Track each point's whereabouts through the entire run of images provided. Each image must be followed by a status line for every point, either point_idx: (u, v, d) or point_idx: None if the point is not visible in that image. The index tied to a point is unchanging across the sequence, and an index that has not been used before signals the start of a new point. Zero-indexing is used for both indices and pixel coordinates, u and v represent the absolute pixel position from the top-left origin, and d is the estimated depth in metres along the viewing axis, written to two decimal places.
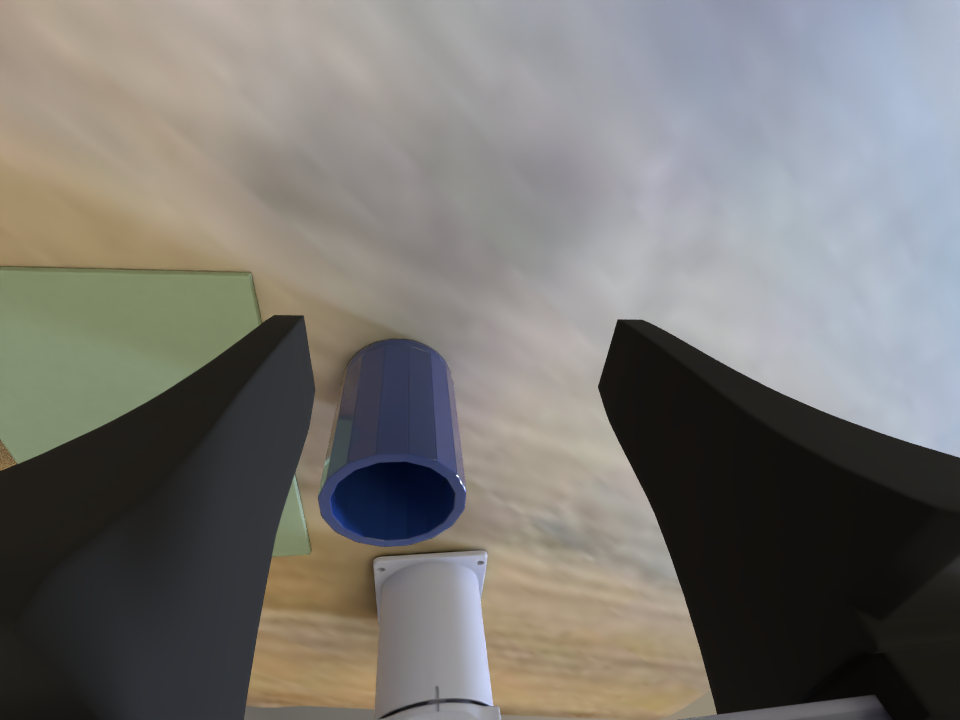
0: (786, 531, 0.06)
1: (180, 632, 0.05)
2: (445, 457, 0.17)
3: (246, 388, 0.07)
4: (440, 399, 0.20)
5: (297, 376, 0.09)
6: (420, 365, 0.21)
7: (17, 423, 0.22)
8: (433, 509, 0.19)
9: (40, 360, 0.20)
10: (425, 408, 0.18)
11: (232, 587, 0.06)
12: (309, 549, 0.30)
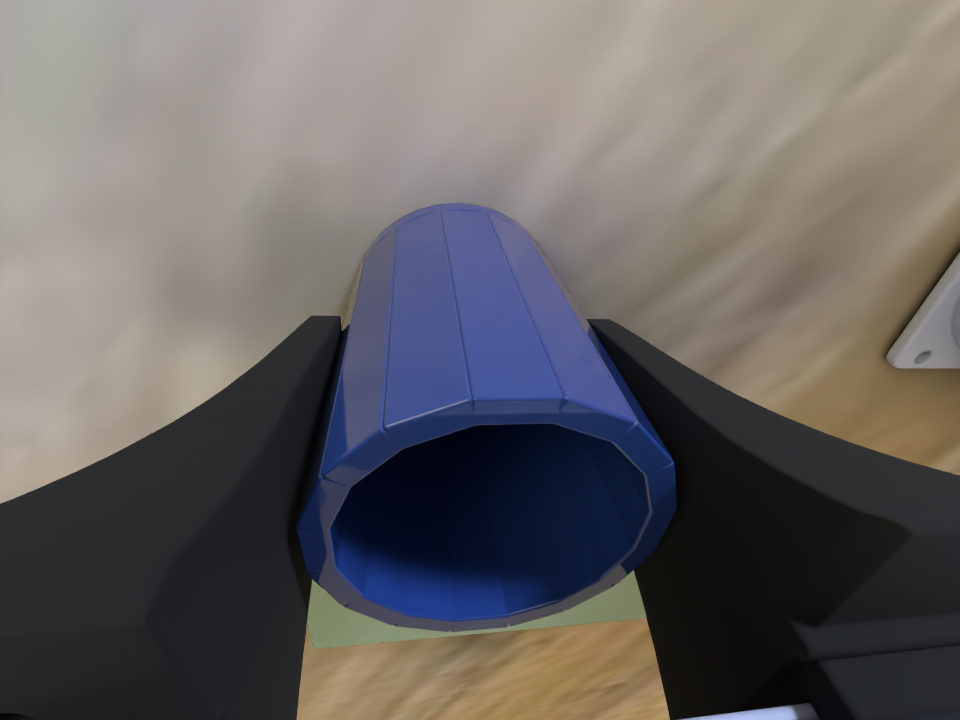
0: (730, 535, 0.06)
1: (254, 626, 0.05)
2: (351, 426, 0.06)
3: (299, 387, 0.07)
4: (369, 303, 0.08)
5: None
6: (352, 298, 0.10)
7: None
8: None
9: None
10: (337, 368, 0.08)
11: (289, 583, 0.06)
12: None
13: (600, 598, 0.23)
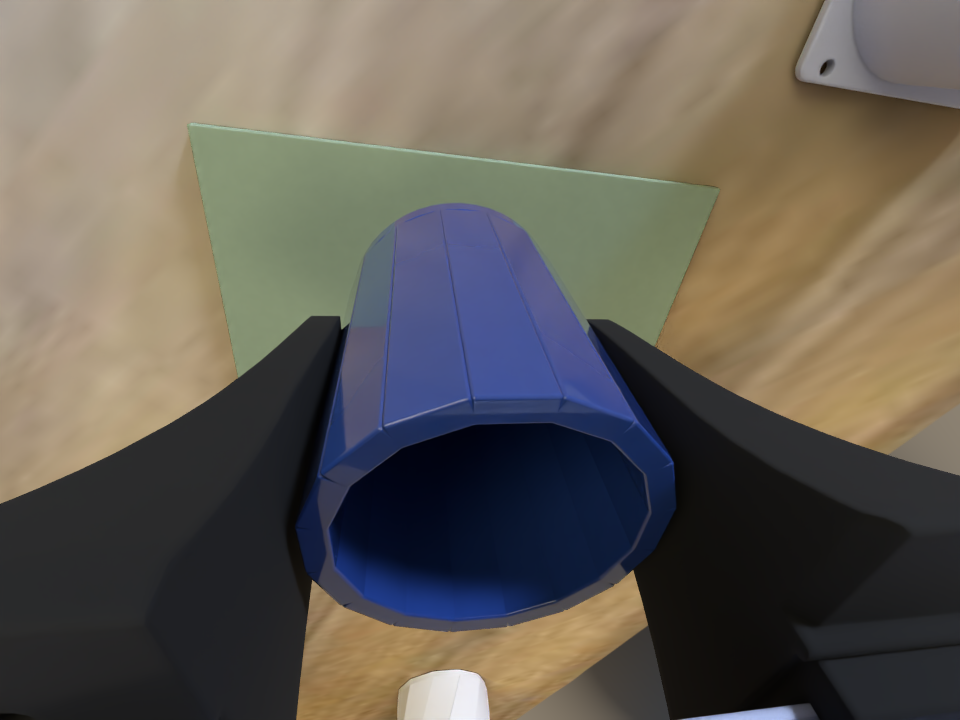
0: (730, 535, 0.06)
1: (254, 626, 0.05)
2: (350, 426, 0.06)
3: (298, 387, 0.07)
4: (368, 302, 0.08)
5: None
6: (351, 298, 0.10)
7: None
8: None
9: None
10: (336, 367, 0.08)
11: (289, 583, 0.06)
12: (709, 187, 0.19)
13: None
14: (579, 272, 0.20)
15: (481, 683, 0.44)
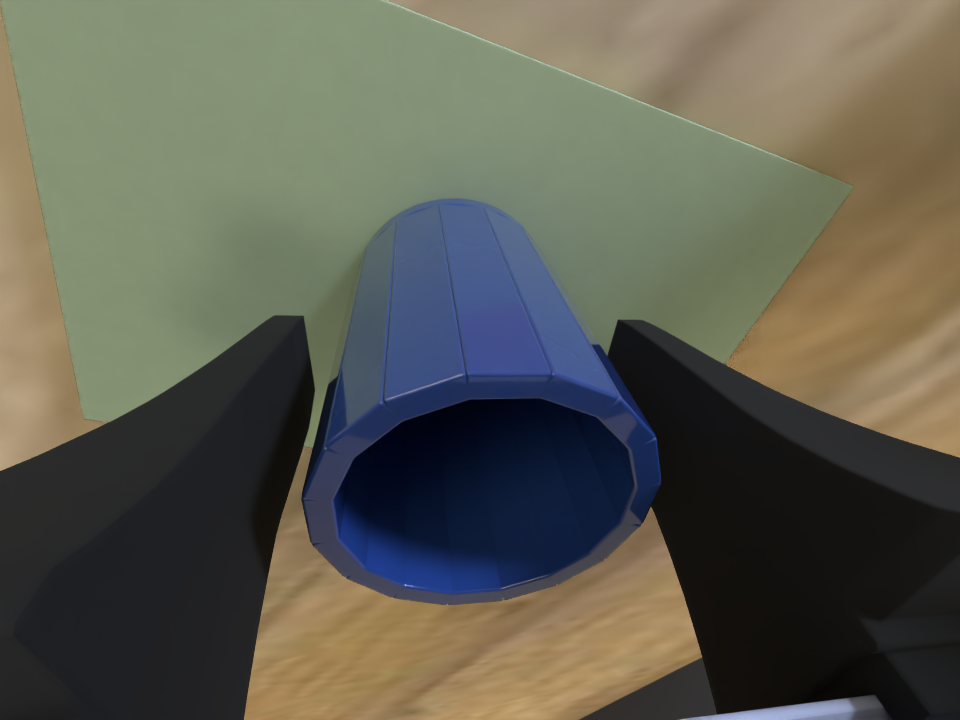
0: (786, 531, 0.06)
1: (180, 632, 0.05)
2: (353, 402, 0.06)
3: (246, 388, 0.07)
4: (369, 291, 0.09)
5: (297, 376, 0.09)
6: (353, 289, 0.11)
7: None
8: None
9: None
10: (339, 353, 0.08)
11: (232, 587, 0.06)
12: (840, 181, 0.13)
13: None
14: (632, 275, 0.14)
15: None
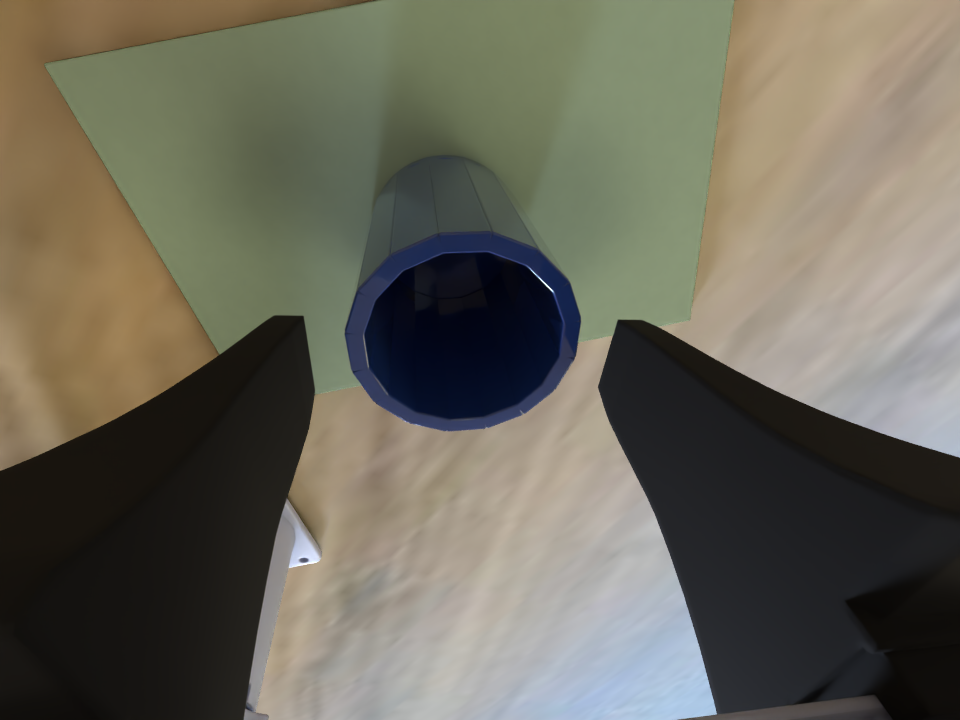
0: (786, 531, 0.06)
1: (180, 632, 0.05)
2: None
3: (246, 388, 0.07)
4: None
5: (297, 376, 0.09)
6: None
7: (477, 34, 0.13)
8: (429, 392, 0.13)
9: (597, 104, 0.15)
10: None
11: (232, 587, 0.06)
12: None
13: (285, 125, 0.14)
14: (330, 306, 0.18)
15: None
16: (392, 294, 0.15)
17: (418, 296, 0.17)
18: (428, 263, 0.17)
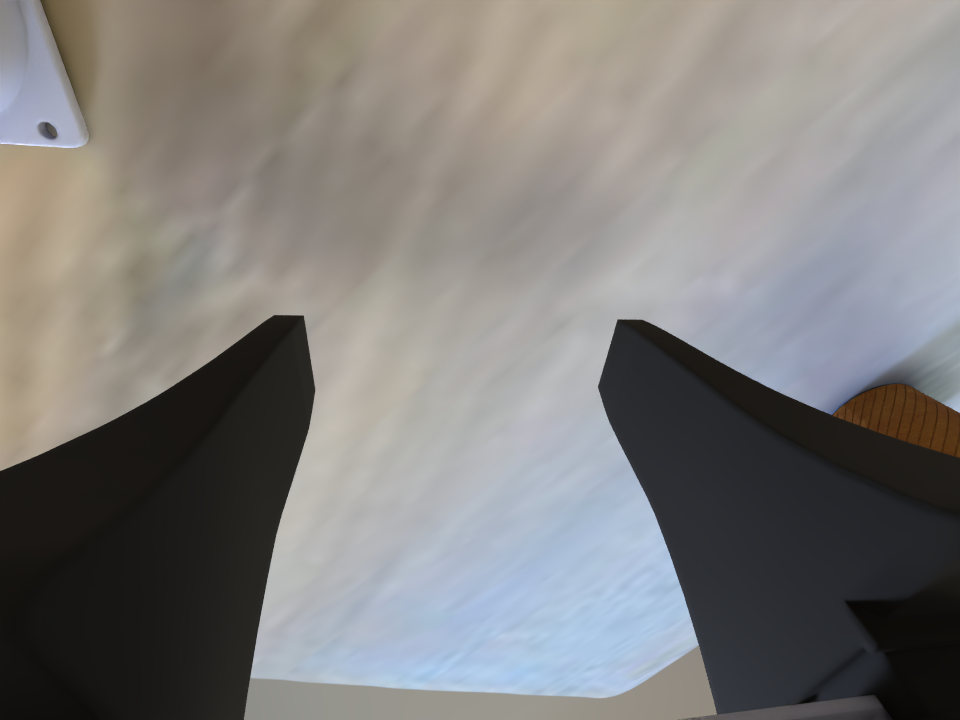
0: (786, 531, 0.06)
1: (180, 632, 0.05)
2: None
3: (246, 388, 0.07)
4: None
5: (297, 376, 0.09)
6: None
7: None
8: None
9: None
10: None
11: (232, 587, 0.06)
12: None
13: None
14: None
15: None
16: None
17: None
18: None
